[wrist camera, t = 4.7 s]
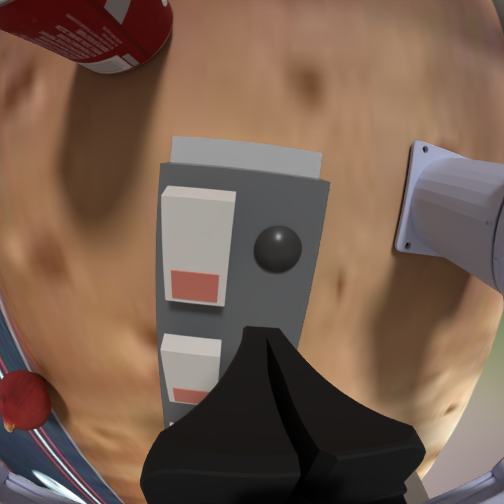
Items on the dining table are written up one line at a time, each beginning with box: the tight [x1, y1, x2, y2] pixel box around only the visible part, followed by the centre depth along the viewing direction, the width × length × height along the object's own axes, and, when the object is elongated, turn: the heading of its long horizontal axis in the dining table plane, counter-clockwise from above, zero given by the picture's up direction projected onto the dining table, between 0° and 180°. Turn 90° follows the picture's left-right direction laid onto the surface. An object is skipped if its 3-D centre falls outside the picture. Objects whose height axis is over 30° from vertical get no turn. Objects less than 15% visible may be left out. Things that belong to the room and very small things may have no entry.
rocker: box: [161, 186, 236, 306], centre depth 15 cm, size 3×6×1 cm, turn 173°
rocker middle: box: [160, 333, 221, 405], centre depth 17 cm, size 3×6×1 cm, turn 173°
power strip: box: [156, 136, 330, 429], centre depth 20 cm, size 9×27×4 cm, turn 173°
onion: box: [0, 370, 51, 433], centre depth 19 cm, size 6×6×8 cm
